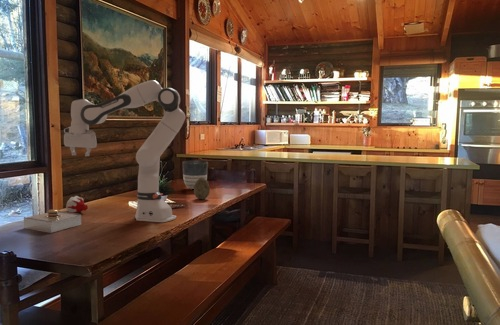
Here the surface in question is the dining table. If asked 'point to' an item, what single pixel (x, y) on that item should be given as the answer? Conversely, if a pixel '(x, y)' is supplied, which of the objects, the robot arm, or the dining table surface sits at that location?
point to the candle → (76, 205)
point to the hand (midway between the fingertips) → (80, 155)
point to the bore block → (52, 222)
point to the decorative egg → (201, 188)
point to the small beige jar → (52, 213)
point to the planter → (194, 172)
